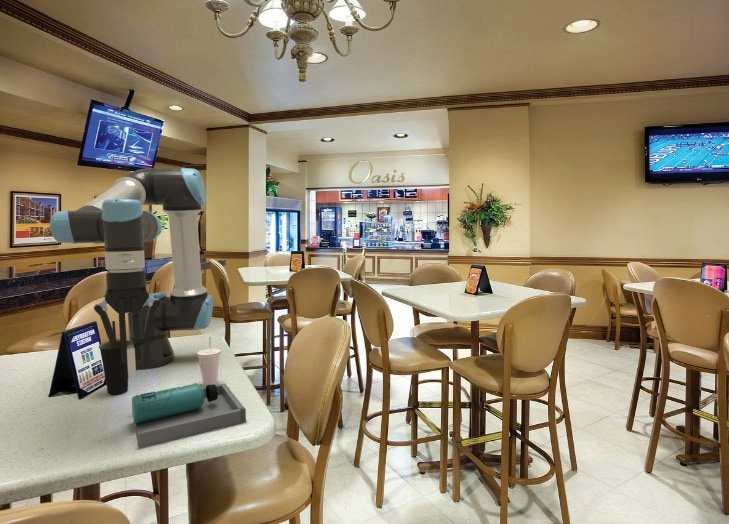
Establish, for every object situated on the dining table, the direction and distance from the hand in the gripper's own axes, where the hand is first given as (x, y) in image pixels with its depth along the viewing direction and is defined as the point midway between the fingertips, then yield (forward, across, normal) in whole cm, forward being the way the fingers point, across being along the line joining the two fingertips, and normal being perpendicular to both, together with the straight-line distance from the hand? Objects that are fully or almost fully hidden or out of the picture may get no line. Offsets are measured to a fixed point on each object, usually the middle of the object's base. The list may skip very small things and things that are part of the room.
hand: (132, 375), depth 95 cm
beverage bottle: (+9, -2, +2) cm, 9 cm away
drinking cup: (+13, -3, +28) cm, 31 cm away
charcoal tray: (+12, +11, 0) cm, 17 cm away
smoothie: (+13, +20, +20) cm, 31 cm away
